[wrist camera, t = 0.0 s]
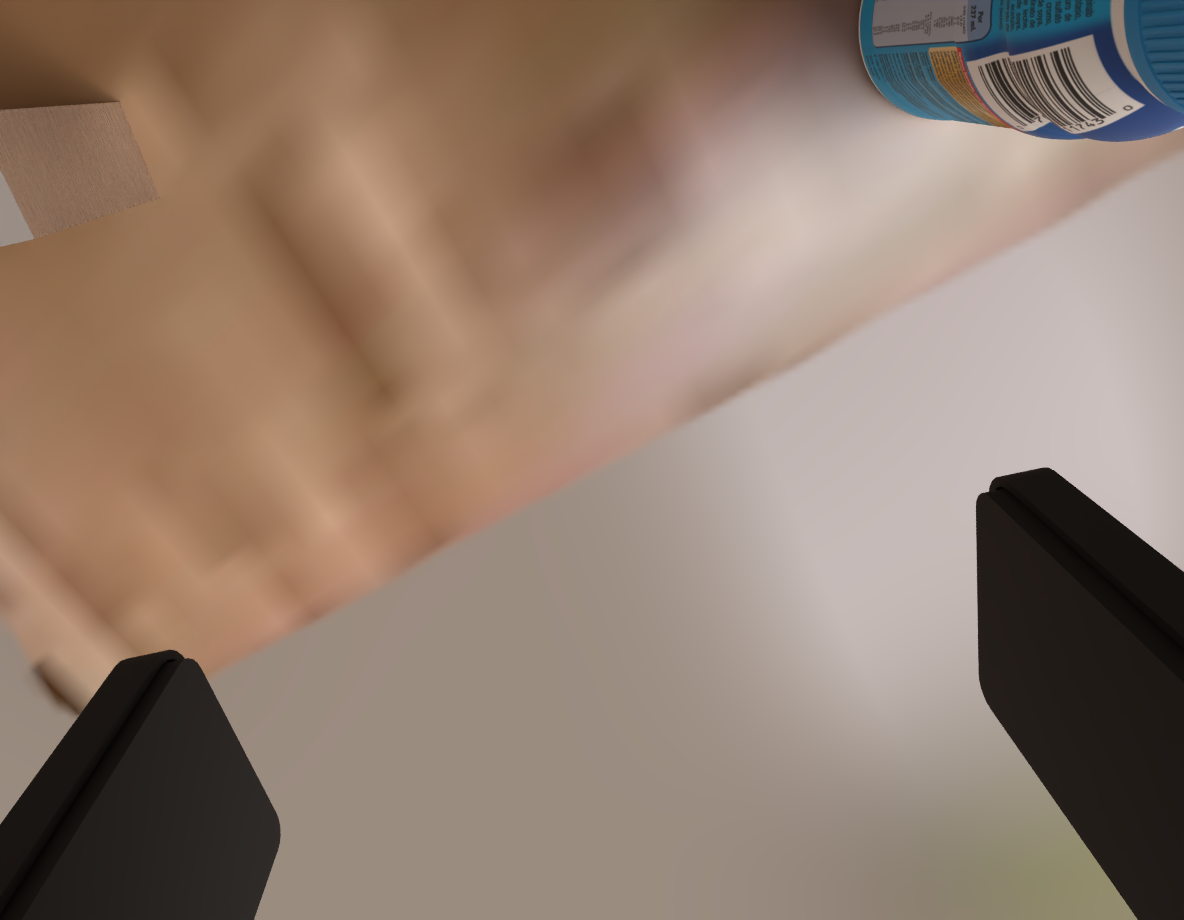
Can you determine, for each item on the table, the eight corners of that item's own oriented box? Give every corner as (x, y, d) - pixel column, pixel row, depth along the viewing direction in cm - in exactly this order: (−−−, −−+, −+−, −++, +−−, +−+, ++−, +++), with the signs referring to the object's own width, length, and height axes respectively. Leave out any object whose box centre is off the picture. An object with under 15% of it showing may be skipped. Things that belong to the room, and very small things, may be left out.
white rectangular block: (-16, 133, 35) (-208, 154, 26) (119, 101, 35) (-28, 111, 26) (31, 227, 37) (-136, 278, 28) (160, 198, 37) (34, 238, 28)
